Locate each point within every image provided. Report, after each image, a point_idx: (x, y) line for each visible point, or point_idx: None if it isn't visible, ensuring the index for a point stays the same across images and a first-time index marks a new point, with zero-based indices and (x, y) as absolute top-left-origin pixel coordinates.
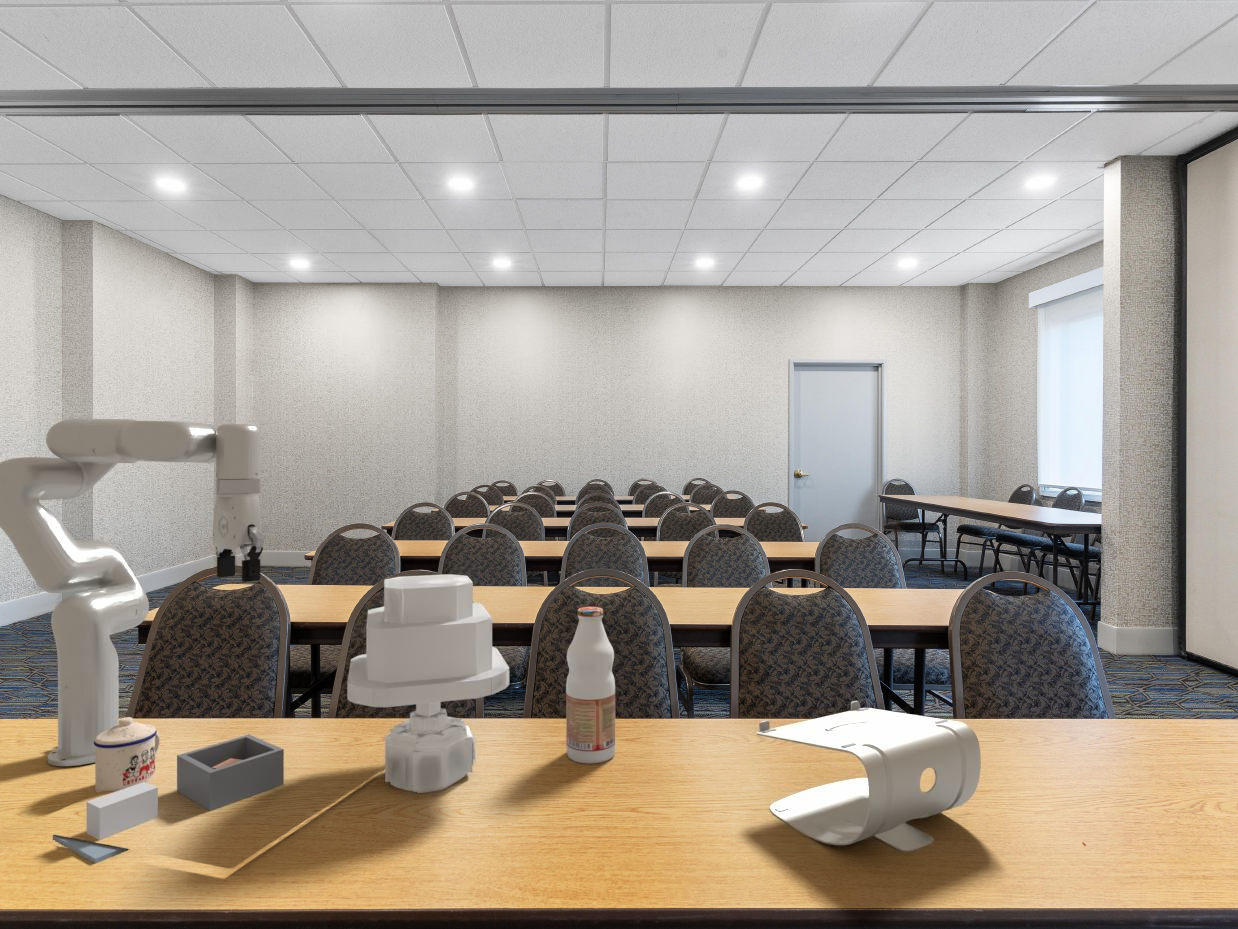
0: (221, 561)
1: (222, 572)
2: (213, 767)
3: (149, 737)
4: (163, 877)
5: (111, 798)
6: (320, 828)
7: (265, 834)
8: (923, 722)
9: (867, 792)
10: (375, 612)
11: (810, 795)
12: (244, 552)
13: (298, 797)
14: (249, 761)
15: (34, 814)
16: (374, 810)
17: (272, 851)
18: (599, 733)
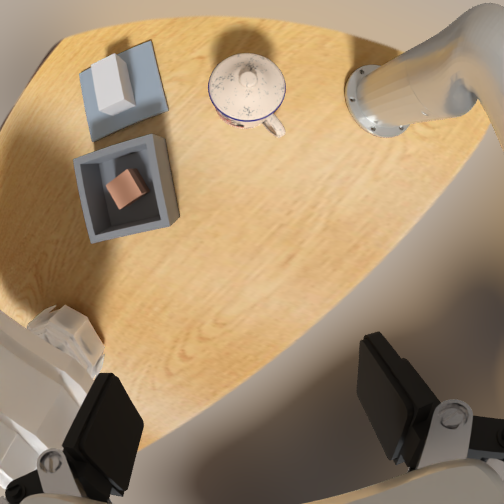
0: (395, 401)
1: (367, 363)
2: (125, 170)
3: (217, 108)
4: (32, 120)
5: (104, 72)
6: (31, 232)
7: (42, 194)
8: None
9: None
10: (16, 427)
11: None
12: (53, 486)
13: (87, 238)
14: (81, 202)
15: (229, 30)
16: (38, 276)
17: (20, 192)
18: None
